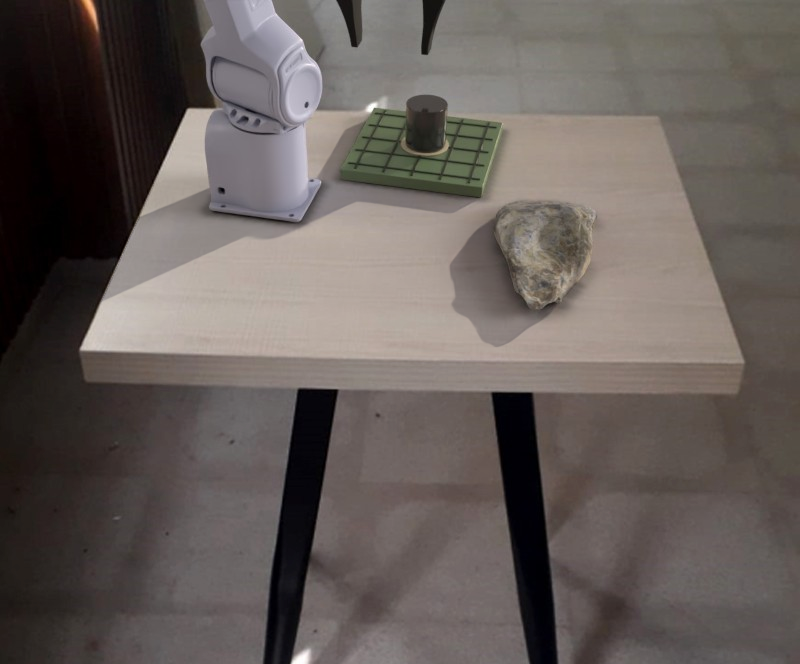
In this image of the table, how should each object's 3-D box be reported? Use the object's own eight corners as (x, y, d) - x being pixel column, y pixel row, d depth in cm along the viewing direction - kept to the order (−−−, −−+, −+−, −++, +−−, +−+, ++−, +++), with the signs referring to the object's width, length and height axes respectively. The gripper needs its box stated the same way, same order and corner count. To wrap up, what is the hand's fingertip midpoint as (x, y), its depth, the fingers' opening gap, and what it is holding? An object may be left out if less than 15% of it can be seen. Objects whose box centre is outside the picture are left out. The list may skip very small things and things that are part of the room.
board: (340, 179, 100) (339, 167, 99) (373, 117, 111) (373, 106, 110) (481, 197, 98) (482, 186, 97) (502, 132, 109) (503, 121, 108)
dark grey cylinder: (406, 153, 102) (407, 112, 99) (404, 134, 105) (405, 94, 102) (447, 153, 102) (449, 112, 99) (444, 134, 105) (446, 94, 102)
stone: (490, 335, 84) (605, 337, 84) (491, 305, 82) (610, 306, 81) (493, 204, 98) (592, 205, 97) (494, 174, 95) (595, 174, 94)
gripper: (473, -96, 95) (464, 40, 104) (332, -107, 97) (335, 26, 106) (460, -75, 90) (452, 66, 99) (312, -88, 92) (318, 51, 101)
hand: (391, 47), depth 102 cm, fingers open, 7 cm apart
